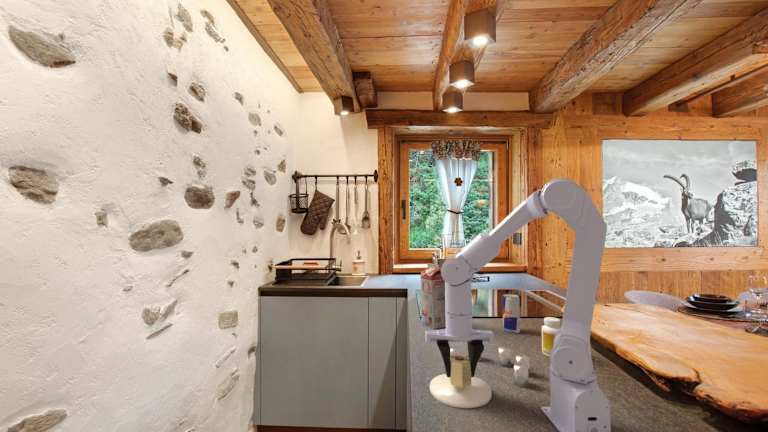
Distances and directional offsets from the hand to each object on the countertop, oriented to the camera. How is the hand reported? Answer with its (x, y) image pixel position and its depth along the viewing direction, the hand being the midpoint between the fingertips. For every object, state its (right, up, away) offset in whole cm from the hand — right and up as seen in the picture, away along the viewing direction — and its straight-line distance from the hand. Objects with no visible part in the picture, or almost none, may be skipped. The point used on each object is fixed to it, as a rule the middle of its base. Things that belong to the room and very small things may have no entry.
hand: (459, 375), depth 68 cm
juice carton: (+2, -5, +45) cm, 45 cm away
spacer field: (+9, -4, +9) cm, 14 cm away
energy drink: (+27, -5, +37) cm, 46 cm away
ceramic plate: (0, -3, 0) cm, 3 cm away
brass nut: (0, -1, 0) cm, 1 cm away
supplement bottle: (+30, -4, +18) cm, 36 cm away
